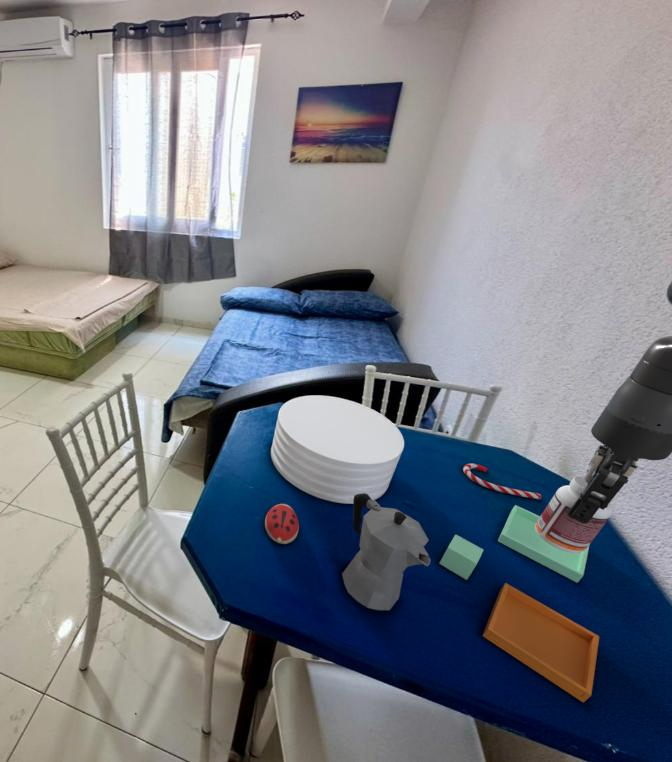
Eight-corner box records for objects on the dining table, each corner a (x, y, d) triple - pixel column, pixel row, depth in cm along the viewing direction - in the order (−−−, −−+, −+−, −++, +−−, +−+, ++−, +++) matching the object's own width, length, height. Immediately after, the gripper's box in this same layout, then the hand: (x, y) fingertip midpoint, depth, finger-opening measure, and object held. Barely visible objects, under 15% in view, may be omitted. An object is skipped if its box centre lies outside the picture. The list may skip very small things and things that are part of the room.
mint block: (473, 565, 77) (483, 549, 75) (466, 580, 74) (477, 563, 72) (446, 550, 80) (455, 534, 78) (438, 563, 77) (447, 547, 75)
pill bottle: (595, 553, 62) (637, 500, 57) (560, 556, 61) (599, 503, 56) (556, 521, 68) (591, 470, 62) (523, 524, 67) (556, 472, 62)
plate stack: (282, 420, 119) (289, 385, 113) (388, 448, 108) (402, 412, 103) (259, 478, 96) (266, 439, 91) (389, 521, 86) (407, 480, 80)
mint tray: (584, 546, 82) (590, 539, 81) (577, 583, 74) (583, 575, 73) (510, 511, 90) (515, 504, 89) (497, 541, 82) (502, 534, 81)
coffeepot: (420, 615, 68) (461, 541, 59) (373, 630, 66) (410, 555, 57) (357, 541, 81) (384, 472, 72) (316, 551, 79) (339, 481, 70)
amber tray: (592, 643, 65) (599, 636, 64) (583, 703, 58) (591, 695, 57) (500, 590, 73) (505, 582, 72) (482, 636, 65) (487, 628, 64)
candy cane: (543, 503, 90) (463, 475, 98) (540, 507, 91) (461, 479, 98) (540, 484, 96) (464, 459, 103) (537, 488, 97) (462, 463, 104)
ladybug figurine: (298, 514, 87) (301, 502, 85) (297, 551, 78) (300, 539, 77) (266, 506, 88) (269, 494, 87) (262, 542, 80) (265, 529, 78)
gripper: (691, 451, 47) (609, 549, 55) (689, 409, 55) (618, 500, 63) (601, 422, 52) (538, 516, 60) (612, 388, 60) (556, 474, 68)
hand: (580, 507), depth 61 cm, fingers closed on pill bottle, 6 cm apart
